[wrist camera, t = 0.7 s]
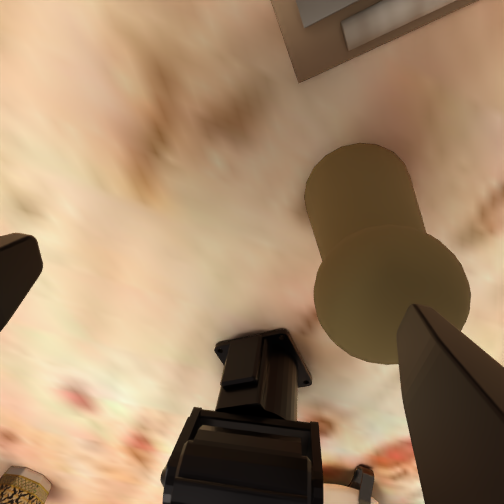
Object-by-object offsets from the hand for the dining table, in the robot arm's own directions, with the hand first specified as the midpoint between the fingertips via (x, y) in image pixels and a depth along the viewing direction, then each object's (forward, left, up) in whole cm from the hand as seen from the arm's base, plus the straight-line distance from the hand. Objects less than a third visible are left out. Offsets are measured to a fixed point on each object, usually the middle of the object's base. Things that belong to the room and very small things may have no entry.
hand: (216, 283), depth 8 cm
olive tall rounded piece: (-5, -4, -13) cm, 15 cm away
